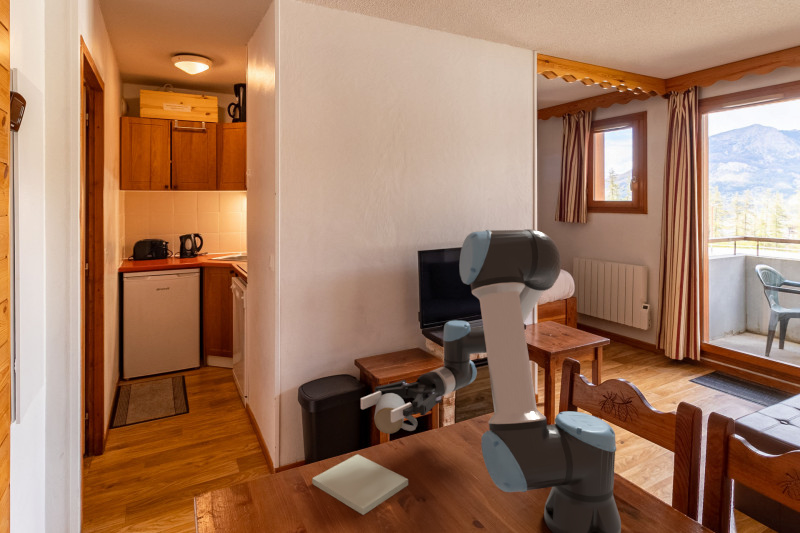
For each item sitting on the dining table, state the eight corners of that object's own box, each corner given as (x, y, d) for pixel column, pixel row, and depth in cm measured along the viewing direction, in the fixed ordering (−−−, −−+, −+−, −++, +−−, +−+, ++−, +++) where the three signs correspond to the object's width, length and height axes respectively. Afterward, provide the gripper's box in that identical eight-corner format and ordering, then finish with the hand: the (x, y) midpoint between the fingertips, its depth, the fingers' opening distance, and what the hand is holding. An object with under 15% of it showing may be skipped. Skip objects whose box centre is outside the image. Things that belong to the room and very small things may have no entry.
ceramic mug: (373, 435, 117) (373, 405, 116) (376, 420, 125) (376, 392, 124) (417, 436, 116) (417, 406, 115) (417, 421, 124) (417, 392, 123)
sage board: (408, 485, 117) (408, 479, 116) (363, 515, 106) (362, 508, 105) (357, 459, 129) (357, 454, 128) (312, 483, 118) (312, 478, 117)
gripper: (468, 409, 125) (410, 440, 110) (405, 387, 141) (346, 411, 125) (468, 381, 124) (410, 408, 109) (405, 362, 140) (346, 383, 124)
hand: (376, 410), depth 117 cm, fingers closed on ceramic mug, 10 cm apart
